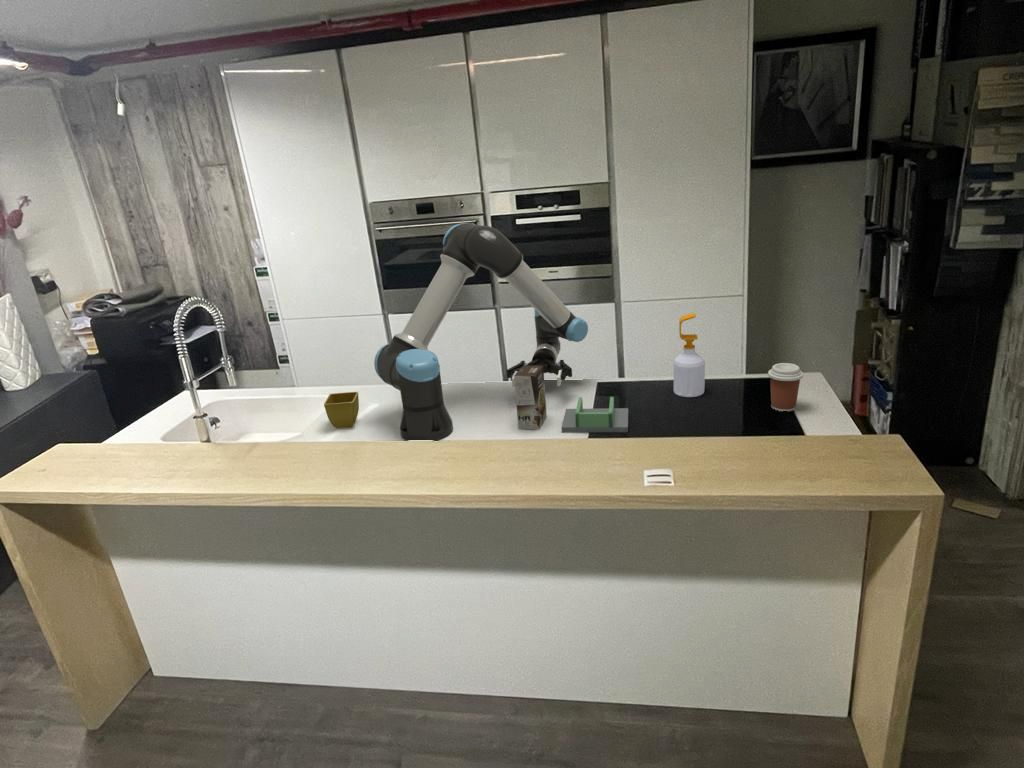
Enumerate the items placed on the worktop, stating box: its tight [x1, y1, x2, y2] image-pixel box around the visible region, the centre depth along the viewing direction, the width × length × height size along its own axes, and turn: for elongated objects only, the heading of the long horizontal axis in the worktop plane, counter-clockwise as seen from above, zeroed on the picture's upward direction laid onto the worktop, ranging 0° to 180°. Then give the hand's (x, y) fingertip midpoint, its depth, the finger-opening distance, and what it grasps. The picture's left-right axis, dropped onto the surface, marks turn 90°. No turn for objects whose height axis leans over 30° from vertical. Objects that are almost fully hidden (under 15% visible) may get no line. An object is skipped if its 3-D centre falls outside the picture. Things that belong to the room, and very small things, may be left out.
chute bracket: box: [561, 396, 629, 433], centre depth 190 cm, size 18×13×6 cm
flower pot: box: [323, 391, 360, 429], centre depth 203 cm, size 9×9×9 cm
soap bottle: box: [673, 312, 706, 398], centre depth 202 cm, size 9×9×25 cm
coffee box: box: [514, 366, 548, 430], centre depth 191 cm, size 9×6×16 cm
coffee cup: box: [767, 362, 804, 412], centre depth 188 cm, size 9×9×12 cm
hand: (535, 382), depth 200 cm, fingers open, 13 cm apart
